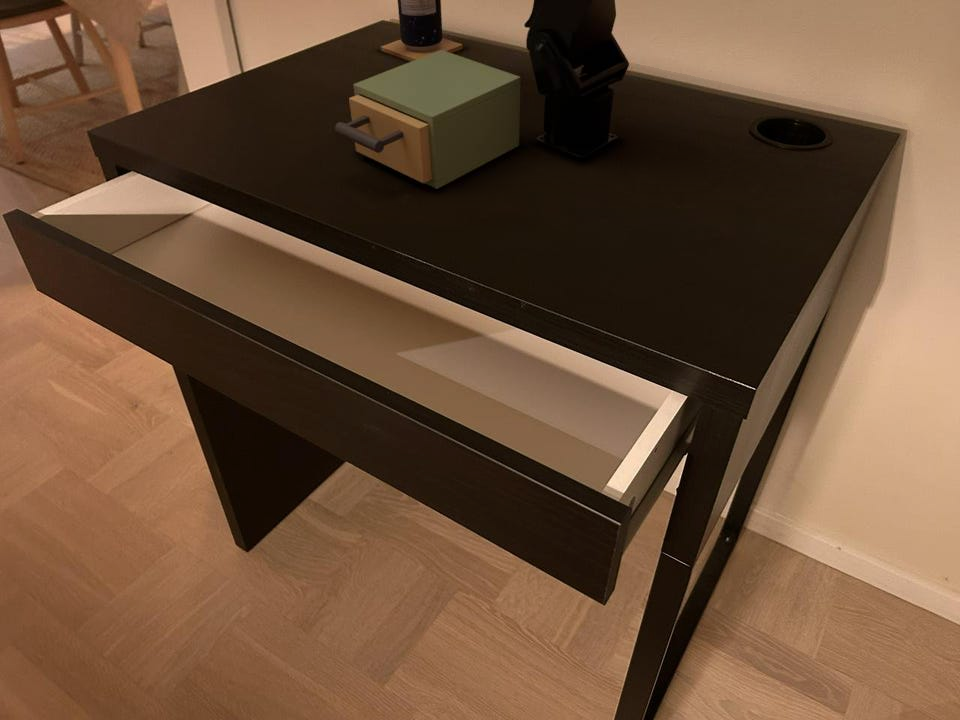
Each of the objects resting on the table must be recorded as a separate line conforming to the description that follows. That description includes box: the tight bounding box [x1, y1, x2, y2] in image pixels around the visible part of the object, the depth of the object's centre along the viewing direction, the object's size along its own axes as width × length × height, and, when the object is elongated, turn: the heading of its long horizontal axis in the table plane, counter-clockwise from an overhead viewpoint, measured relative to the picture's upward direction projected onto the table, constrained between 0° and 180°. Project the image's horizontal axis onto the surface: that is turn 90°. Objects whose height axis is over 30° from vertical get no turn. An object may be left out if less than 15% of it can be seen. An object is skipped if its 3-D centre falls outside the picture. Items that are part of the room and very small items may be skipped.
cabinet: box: [352, 50, 522, 190], centre depth 79 cm, size 13×12×8 cm
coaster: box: [380, 37, 464, 62], centre depth 103 cm, size 8×8×1 cm
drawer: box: [334, 95, 432, 184], centre depth 77 cm, size 15×10×6 cm
